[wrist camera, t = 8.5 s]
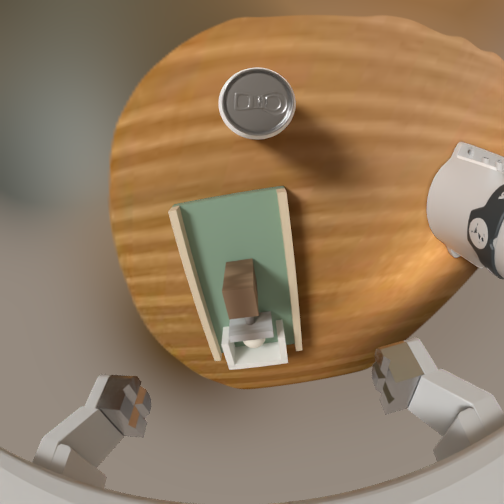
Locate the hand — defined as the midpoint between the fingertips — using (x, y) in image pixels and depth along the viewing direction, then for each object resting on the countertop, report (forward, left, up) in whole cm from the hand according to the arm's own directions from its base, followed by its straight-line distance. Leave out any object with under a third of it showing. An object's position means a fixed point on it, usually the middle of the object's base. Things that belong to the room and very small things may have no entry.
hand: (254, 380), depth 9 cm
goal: (+3, +23, -28) cm, 36 cm away
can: (-2, -9, -29) cm, 31 cm away
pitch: (+3, +13, -29) cm, 32 cm away
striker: (+3, +14, -28) cm, 31 cm away
